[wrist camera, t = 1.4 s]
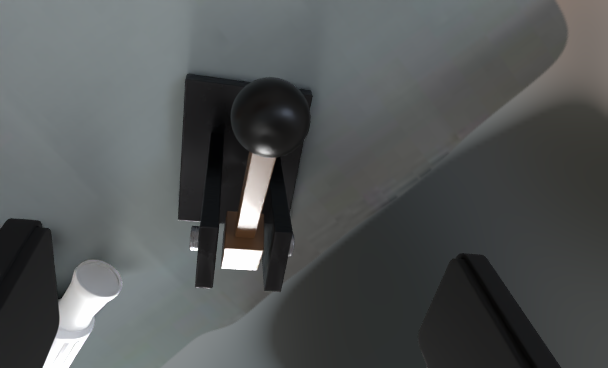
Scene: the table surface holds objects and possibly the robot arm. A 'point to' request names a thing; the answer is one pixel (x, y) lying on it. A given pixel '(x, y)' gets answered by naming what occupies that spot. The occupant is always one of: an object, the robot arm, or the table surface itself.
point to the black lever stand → (229, 179)
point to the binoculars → (82, 309)
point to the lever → (261, 160)
